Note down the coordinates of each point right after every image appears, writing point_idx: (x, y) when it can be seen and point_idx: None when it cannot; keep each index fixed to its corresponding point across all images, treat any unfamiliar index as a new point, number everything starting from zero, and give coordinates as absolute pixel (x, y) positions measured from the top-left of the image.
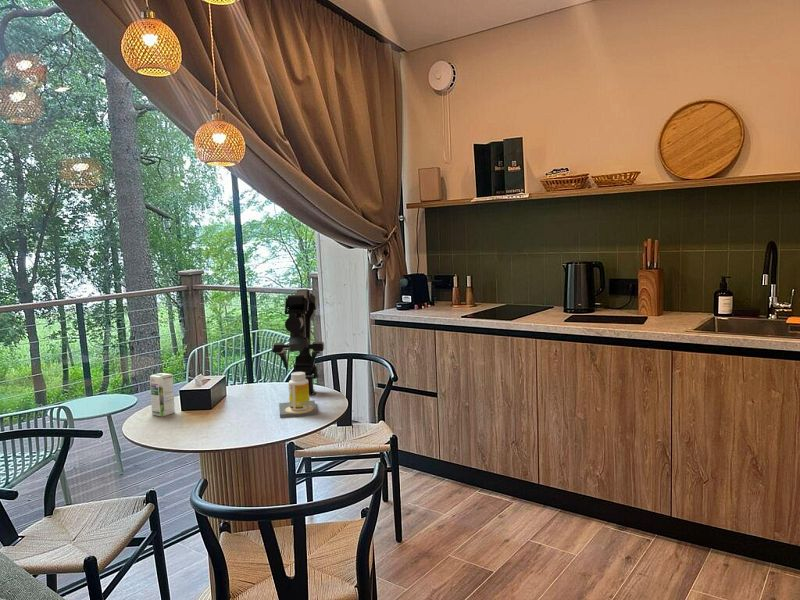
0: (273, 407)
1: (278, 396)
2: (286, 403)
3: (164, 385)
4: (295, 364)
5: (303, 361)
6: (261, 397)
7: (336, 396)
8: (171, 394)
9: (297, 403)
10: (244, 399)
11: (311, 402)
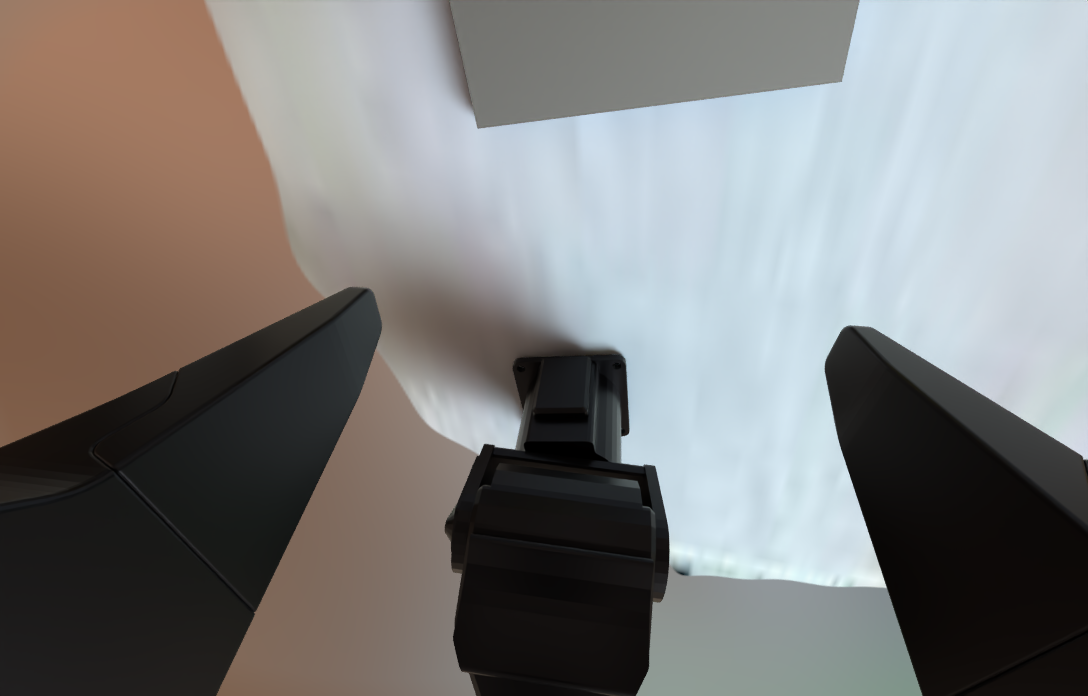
0: (900, 41)
1: (771, 368)
2: (762, 52)
3: None
4: (650, 578)
5: (556, 603)
6: None
7: (354, 284)
8: None
9: None
10: (1055, 355)
11: (493, 43)
